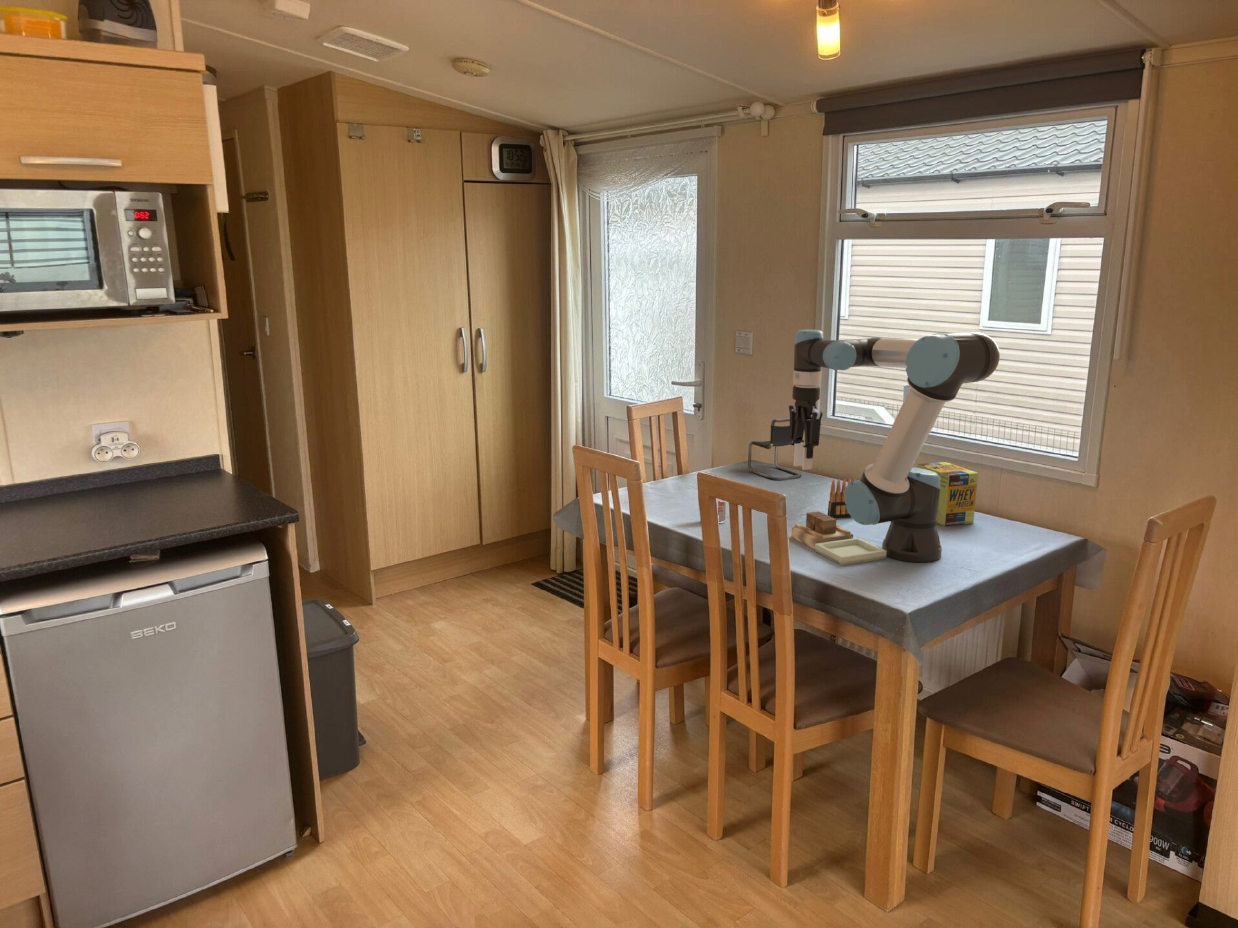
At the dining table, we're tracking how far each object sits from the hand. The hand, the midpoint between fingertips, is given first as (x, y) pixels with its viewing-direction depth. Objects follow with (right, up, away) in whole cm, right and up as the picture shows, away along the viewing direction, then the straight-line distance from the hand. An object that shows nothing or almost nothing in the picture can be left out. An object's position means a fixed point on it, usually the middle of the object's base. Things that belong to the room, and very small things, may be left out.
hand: (802, 467), depth 258 cm
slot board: (+4, -20, -6) cm, 22 cm away
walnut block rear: (+3, -17, -4) cm, 18 cm away
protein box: (+46, -16, +16) cm, 51 cm away
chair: (+4, -3, +69) cm, 69 cm away
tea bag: (-25, -17, +11) cm, 32 cm away
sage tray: (+9, -23, -17) cm, 30 cm away
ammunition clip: (+16, -15, +17) cm, 28 cm away
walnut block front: (+5, -18, -8) cm, 20 cm away
